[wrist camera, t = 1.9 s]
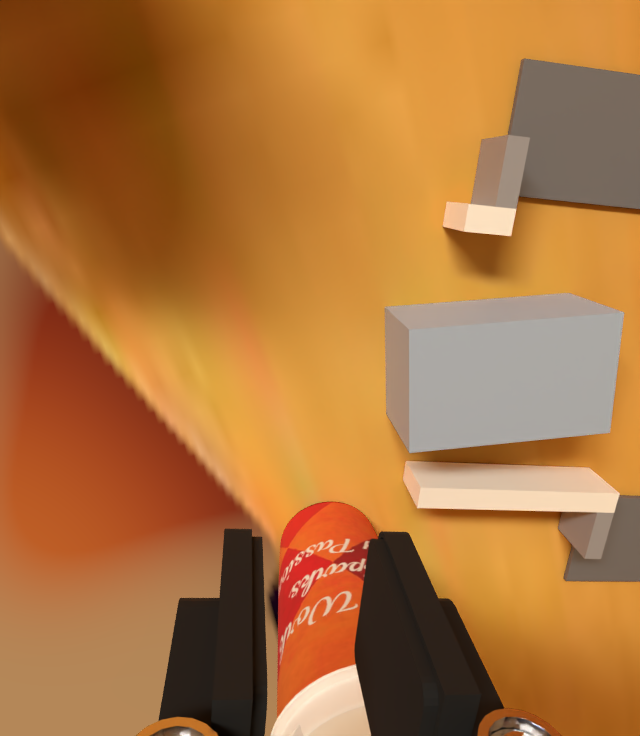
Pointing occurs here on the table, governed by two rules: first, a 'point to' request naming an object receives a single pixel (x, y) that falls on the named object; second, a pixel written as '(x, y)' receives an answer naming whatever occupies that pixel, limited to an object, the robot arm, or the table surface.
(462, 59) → the table surface
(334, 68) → the table surface
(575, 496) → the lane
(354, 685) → the paper cup
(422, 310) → the block
